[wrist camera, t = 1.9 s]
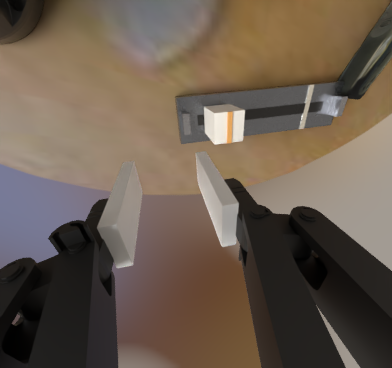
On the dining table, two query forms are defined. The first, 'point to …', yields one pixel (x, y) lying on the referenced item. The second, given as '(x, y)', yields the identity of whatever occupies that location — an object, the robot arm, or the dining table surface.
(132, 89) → the dining table surface
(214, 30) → the dining table surface
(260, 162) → the dining table surface
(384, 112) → the dining table surface
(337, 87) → the grey slider track
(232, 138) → the fader
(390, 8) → the mobile phone
